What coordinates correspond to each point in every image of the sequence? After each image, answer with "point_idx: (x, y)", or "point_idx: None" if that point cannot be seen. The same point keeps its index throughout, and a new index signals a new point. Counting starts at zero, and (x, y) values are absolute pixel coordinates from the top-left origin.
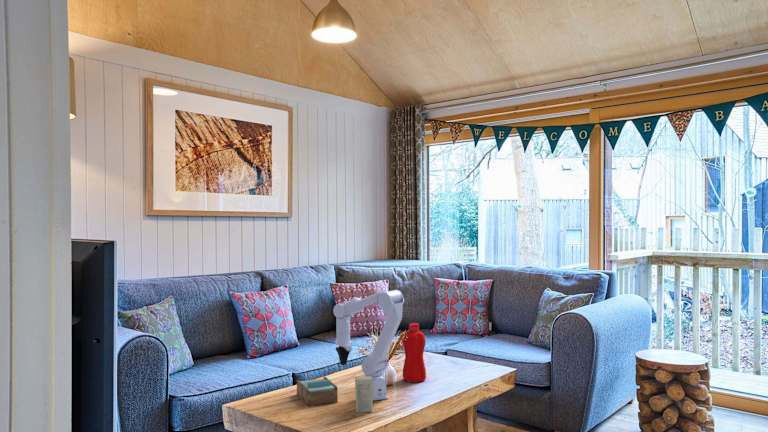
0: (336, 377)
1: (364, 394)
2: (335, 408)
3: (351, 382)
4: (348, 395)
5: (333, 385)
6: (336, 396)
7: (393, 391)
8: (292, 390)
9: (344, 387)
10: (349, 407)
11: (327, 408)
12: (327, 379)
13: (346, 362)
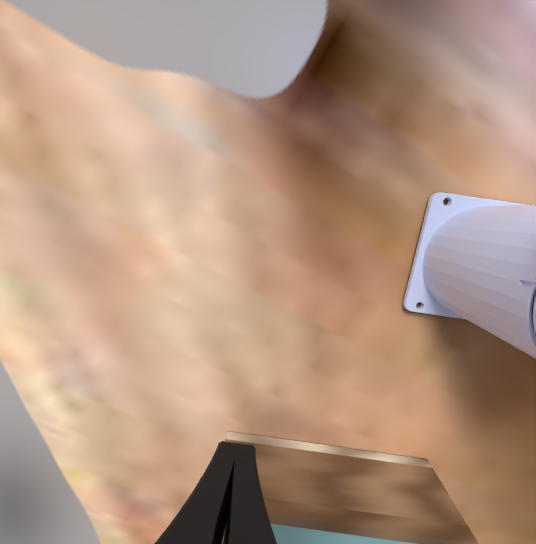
0: (3, 267)
1: None
2: (495, 500)
3: (147, 239)
4: (364, 369)
5: (422, 540)
6: (442, 491)
7: (472, 100)
8: (139, 539)
9: (221, 322)
10: (529, 448)
11: (470, 524)
12: (286, 523)
13: (255, 463)
